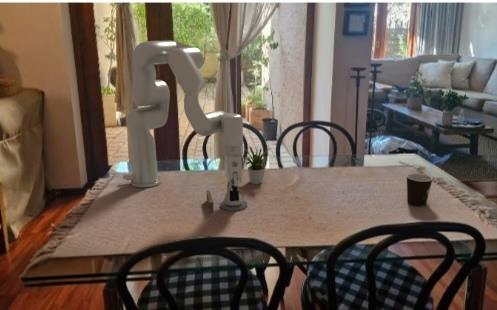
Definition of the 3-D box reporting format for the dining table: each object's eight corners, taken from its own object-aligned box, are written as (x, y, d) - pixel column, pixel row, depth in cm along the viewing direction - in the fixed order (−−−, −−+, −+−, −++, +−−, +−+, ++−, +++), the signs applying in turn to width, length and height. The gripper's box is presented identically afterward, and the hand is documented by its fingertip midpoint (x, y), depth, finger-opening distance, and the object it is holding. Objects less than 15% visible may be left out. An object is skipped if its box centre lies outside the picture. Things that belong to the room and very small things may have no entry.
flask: (240, 207, 150) (240, 180, 147) (221, 205, 151) (220, 179, 149) (244, 199, 157) (244, 173, 154) (225, 198, 158) (225, 172, 155)
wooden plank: (210, 213, 148) (209, 202, 147) (206, 200, 159) (206, 190, 158) (213, 213, 148) (213, 202, 147) (210, 200, 160) (209, 190, 158)
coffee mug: (417, 209, 149) (420, 182, 146) (399, 201, 156) (401, 175, 154) (440, 203, 154) (443, 177, 151) (421, 195, 162) (424, 170, 159)
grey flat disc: (222, 212, 149) (221, 210, 149) (218, 201, 158) (218, 200, 158) (249, 209, 151) (249, 208, 150) (244, 199, 160) (244, 197, 160)
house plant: (230, 185, 175) (229, 146, 170) (243, 174, 187) (243, 138, 182) (263, 189, 170) (263, 150, 165) (274, 178, 182) (274, 141, 177)
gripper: (247, 155, 141) (247, 206, 146) (238, 142, 157) (239, 188, 162) (225, 156, 140) (226, 207, 145) (218, 143, 156) (219, 190, 161)
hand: (233, 197), depth 154 cm, fingers open, 5 cm apart
